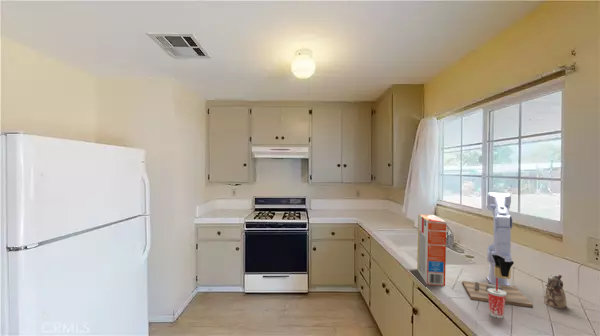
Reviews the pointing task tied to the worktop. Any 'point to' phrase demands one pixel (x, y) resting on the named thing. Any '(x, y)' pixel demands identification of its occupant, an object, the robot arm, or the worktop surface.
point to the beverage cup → (496, 301)
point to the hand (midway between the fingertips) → (502, 274)
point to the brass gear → (498, 273)
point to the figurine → (555, 292)
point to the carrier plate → (509, 296)
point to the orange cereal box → (431, 249)
